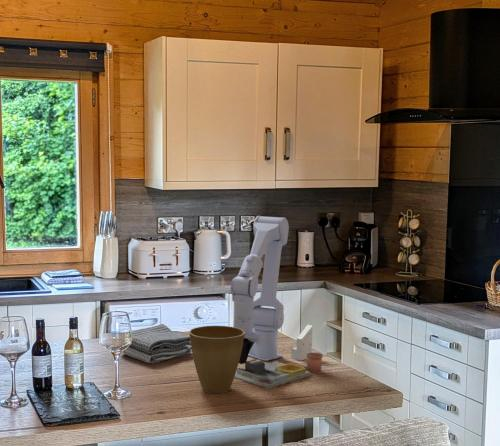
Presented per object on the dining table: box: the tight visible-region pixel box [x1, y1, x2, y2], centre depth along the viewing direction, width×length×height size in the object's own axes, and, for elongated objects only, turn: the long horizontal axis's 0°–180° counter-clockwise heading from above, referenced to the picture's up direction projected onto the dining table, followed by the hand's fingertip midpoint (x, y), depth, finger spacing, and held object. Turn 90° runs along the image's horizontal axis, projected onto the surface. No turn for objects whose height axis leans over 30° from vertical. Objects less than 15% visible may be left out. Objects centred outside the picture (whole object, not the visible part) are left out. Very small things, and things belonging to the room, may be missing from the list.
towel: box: [122, 323, 192, 364], centre depth 236 cm, size 15×18×8 cm
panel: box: [234, 360, 312, 389], centre depth 217 cm, size 14×18×2 cm
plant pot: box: [188, 325, 245, 394], centre depth 204 cm, size 15×15×16 cm
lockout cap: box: [307, 352, 324, 374], centre depth 223 cm, size 5×5×5 cm
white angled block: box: [291, 324, 313, 361], centre depth 237 cm, size 4×10×9 cm, turn 141°
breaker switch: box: [244, 358, 266, 374], centre depth 216 cm, size 4×4×3 cm
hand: (242, 363), depth 220 cm, fingers closed
